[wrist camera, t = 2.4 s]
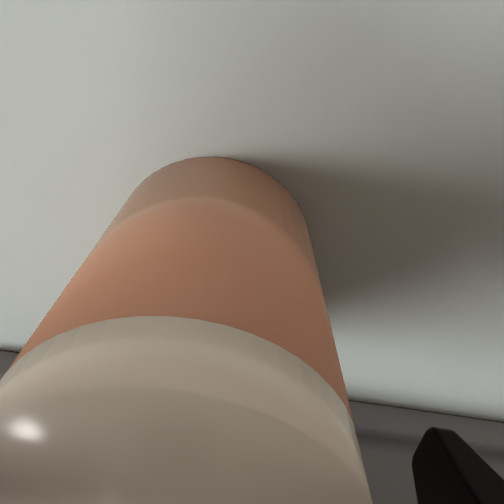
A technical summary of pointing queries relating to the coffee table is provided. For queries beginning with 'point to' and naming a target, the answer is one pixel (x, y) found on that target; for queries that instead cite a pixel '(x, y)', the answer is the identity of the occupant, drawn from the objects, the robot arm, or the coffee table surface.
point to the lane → (398, 442)
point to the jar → (186, 359)
